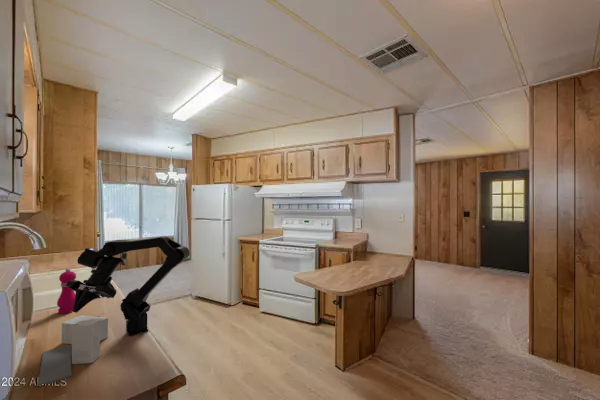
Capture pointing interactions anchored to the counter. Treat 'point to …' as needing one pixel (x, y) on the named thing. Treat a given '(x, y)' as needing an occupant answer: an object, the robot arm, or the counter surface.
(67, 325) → the supplement box
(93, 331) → the skincare box
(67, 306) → the pepper mill
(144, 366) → the counter surface
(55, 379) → the rubber mat
